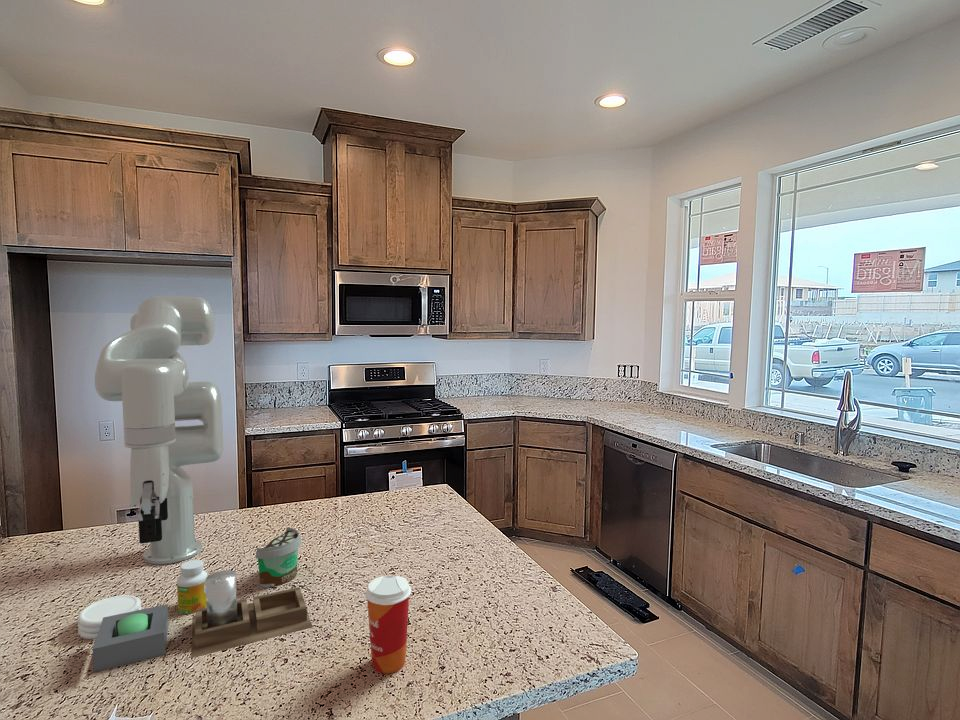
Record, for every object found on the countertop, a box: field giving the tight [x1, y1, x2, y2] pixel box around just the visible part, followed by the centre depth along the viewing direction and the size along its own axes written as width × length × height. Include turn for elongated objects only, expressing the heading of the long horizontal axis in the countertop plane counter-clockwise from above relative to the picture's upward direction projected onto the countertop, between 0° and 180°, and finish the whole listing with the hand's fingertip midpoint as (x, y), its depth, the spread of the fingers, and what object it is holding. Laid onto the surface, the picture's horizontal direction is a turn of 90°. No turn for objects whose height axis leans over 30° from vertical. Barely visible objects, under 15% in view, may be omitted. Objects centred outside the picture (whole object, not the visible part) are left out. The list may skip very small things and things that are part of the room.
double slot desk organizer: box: [190, 586, 313, 659], centre depth 100 cm, size 14×20×4 cm
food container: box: [255, 527, 302, 588], centre depth 117 cm, size 12×6×10 cm, turn 168°
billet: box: [206, 569, 238, 629], centre depth 98 cm, size 5×5×10 cm
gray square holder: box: [92, 603, 170, 673], centre depth 92 cm, size 10×10×5 cm
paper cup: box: [364, 575, 412, 675], centre depth 90 cm, size 8×8×14 cm
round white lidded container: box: [76, 594, 142, 640], centre depth 101 cm, size 10×10×4 cm
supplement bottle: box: [176, 559, 209, 615], centre depth 105 cm, size 5×5×10 cm
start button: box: [117, 613, 148, 636], centre depth 92 cm, size 4×4×4 cm
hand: (154, 530), depth 92 cm, fingers open, 9 cm apart
